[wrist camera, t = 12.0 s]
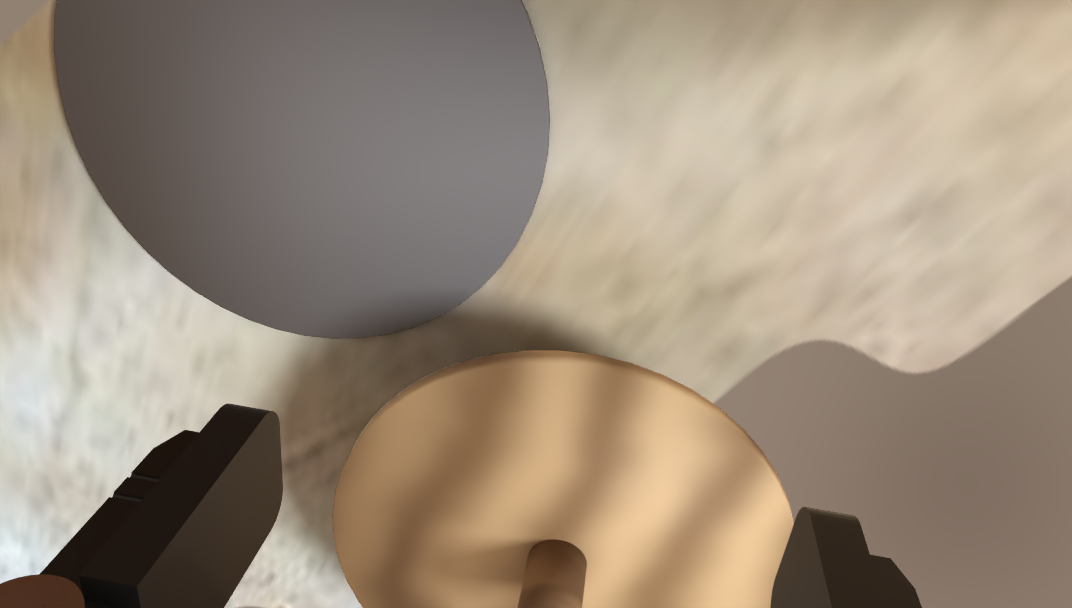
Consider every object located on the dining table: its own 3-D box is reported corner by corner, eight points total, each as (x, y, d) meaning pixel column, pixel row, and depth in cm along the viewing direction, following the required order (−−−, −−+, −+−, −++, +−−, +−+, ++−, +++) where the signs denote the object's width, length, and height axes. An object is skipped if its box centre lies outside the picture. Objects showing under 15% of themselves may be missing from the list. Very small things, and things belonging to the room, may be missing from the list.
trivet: (582, -139, 35) (581, -140, 34) (522, 366, 47) (521, 372, 46) (17, -208, 37) (7, -210, 36) (101, 295, 49) (94, 300, 48)
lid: (861, 404, 38) (901, 509, 31) (729, 734, 50) (739, 859, 43) (344, 307, 39) (283, 388, 33) (336, 650, 51) (290, 758, 45)
